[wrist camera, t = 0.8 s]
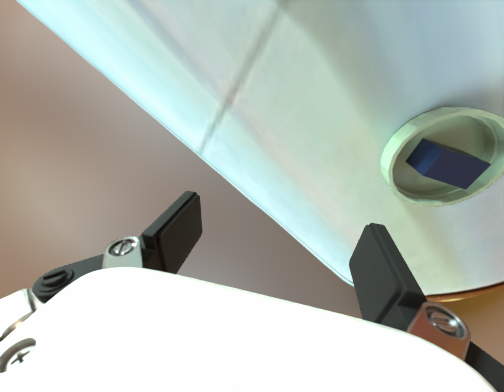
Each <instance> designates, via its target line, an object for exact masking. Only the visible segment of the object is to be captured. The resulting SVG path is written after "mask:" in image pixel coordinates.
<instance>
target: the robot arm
mask: <svg viewBox="0 0 504 392" xmlns="http://www.w3.org/2000/svg"><path fill="white" fill-rule="evenodd" d="M201 234H202V221H201V206H200V196H199V195H197V193H196V192H190V191H186V192H185V193H184V194H182V196H180V197H179V198H178V199H177V200H176V201H175V202H174V203H173V204H172V205H171V206H170V207H169V208H168V209H167V210H166V211H165V212H164V213H163V214H161V215H160V216H159V217H158V218H157V219H156V220H155V221H154V222H153V223H152V224H151V225H150V226H149V227H148V228H147V229H146V230H145V231H144V232H143V233H142V234H141V235H140V236H139V237H138V238H136V237H133V236H126V237H121V238H118V239H116V240H114V241H112V242H111V243H110V244H108V246H107V247H106V248H105V250H104V254H101V255H98V256H95V257H92V258H89V259H85V260H82V261H79V262H75V263H72V264H69V265H65V266H63V267H59V268H57V269H54V270H51V271H50V272H48V273H46V274H44V275H43V276H42V277H40V278H39V279H38V280H37V281H36V282H35V283H34V286H33V287H32V288H31V289H29V290H27V289H26V288H24V289H22V290H20V291H18V292H16V293H13V294H11V295H9V296H7V297H5V298H3V299H1V300H0V392H504V365H502V364H501V363H499V362H498V361H497V360H495V359H494V358H493V357H491V356H490V355H489V354H487V353H486V352H485V351H483V350H482V349H481V348H479V347H478V346H476V345H475V344H474V343H473V342H471V341H470V339H471V333H470V331H469V329H468V327H467V325H466V324H465V323H464V321H463V320H462V319H461V318H460V317H459V316H458V315H457V314H455V313H454V312H453V311H451V310H450V309H448V308H446V307H445V306H443V305H441V304H438V303H435V302H428V301H427V299H426V297H425V296H424V294H423V292H422V290H421V288H420V287H419V285H418V283H417V282H416V280H415V278H414V276H413V275H412V273H411V271H410V269H409V268H408V266H407V264H406V262H405V261H404V259H403V257H402V255H401V254H400V252H399V250H398V248H397V247H396V245H395V243H394V241H393V240H392V238H391V236H390V234H389V233H388V231H387V229H386V227H385V226H384V225H381V224H375V223H370V224H369V225H366V226H365V228H364V230H363V232H362V235H361V237H360V239H359V241H358V243H357V246H356V248H355V250H354V252H353V254H352V257H351V259H350V262H349V267H350V271H351V275H352V279H353V283H354V287H355V290H356V294H357V298H358V302H359V306H360V310H361V314H362V318H363V320H362V319H358V318H354V317H350V316H347V315H343V314H339V313H335V312H330V311H327V310H322V309H318V308H314V307H310V306H306V305H302V304H298V303H294V302H290V301H286V300H282V299H278V298H273V297H269V296H265V295H261V294H256V293H253V292H249V291H244V290H240V289H236V288H232V287H228V286H223V285H219V284H215V283H211V282H206V281H202V280H198V279H193V278H189V277H185V276H180V275H176V273H177V272H178V270H179V269H180V267H181V266H182V264H183V263H184V261H185V260H186V258H187V257H188V255H189V253H190V252H191V250H192V249H193V247H194V246H195V244H196V243H197V241H198V240H199V238H200V237H201Z"/></svg>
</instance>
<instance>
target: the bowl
mask: <svg viewBox="0 0 504 392" xmlns="http://www.w3.org/2000/svg"><path fill="white" fill-rule="evenodd" d="M422 138H424V139H427V140H430V141H434V142H437V143H440V144H443V145H446V146H449V147H453V148H456V149H459V150H462V151H464V152H466V153H469V154H471V155H473V156H475V157H477V158H479V159H482V160H484V161H486V162H488V163H490V164H491V165H490V166H489V167H488V168H487V169H486V170H485V171H484V172H483V173H482V174H481V175H480V176H479V177H478V178H477V179H476V180H475V181H474V182H473V183H472V184H471V185H470V186H469V187H468V188H467V189H466V190H465V189H461V188H458V187H455V186H452V185H449V184H446V183H443V182H440V181H437V180H434V179H431V178H428V177H425V176H422V175H421V174H420V173H419V172H417V171H416V170H415V169H414V168H413V167H411V166H410V165H409V164H408V163H406V162H405V161H406V160H407V158H408V157H409V156H410V154H411V153H412V152H413V150H414V149H415V148H416V146H417V145H418V144H419V142H420V141H421V140H422ZM380 165H381V174H382V176H383V178H384V180H385V181H386V183H387V185H388V186H389V187H390V188H391V190H392V191H393V192H394V193H395V194H396V195H397V196H398V197H400V198H401V199H402V200H404V201H405V202H408V203H411V204H414V205H417V206H426V207H439V206H445V205H452V204H455V203H458V202H461V201H464V200H467V199H469V198H471V197H474V196H475V195H477V194H479V193H480V192H482V191H484V190H485V189H487V188H489V187H490V186H491V185H492V184H493V183H494V182H495V181H496V180H497V179H498V178H499V177H501V176H502V175H503V174H504V119H503V118H502V117H501V116H500V115H496V114H493V113H490V112H486V111H483V110H479V109H473V108H467V107H442V108H439V109H435V110H432V111H429V112H425V113H423V114H421V115H419V116H417V117H416V118H414V119H412V120H410V121H409V122H407V123H406V124H405V125H403V126H402V127H401V128H400V129H399V130H398V131H397V132H396V133H395V134H394V135H393V136H392V137H391V139H390V140H389V142H388V143H387V145H386V147H385V148H384V150H383V154H382V158H381V161H380Z"/></svg>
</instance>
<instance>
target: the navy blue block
mask: <svg viewBox="0 0 504 392" xmlns="http://www.w3.org/2000/svg"><path fill="white" fill-rule="evenodd" d="M405 162H406V163H408V164H409V165H410V166H411V167H413V168H414V169H415V170H416V171H417V172H419V173H420V174H421V175H422V176H425V177H428V178H431V179H434V180H437V181H440V182H443V183H446V184H449V185H452V186H455V187H458V188H461V189H465V190H466V189H467V188H468V187H469V186H470V185H471V184H472V183H473V182H474V181H475V180H476V179H477V178H478V177H479V176H480V175H481V174H482V173H483V172H484V171H485V170H486V169H487V168H488V167H489V166H490V165H491V164H490V163H488V162H486V161H484V160H482V159H479V158H477V157H475V156H473V155H471V154H469V153H466V152H464V151H462V150H459V149H456V148H453V147H449V146H446V145H443V144H440V143H437V142H434V141H430V140H427V139H424V138H422V140H421V141H420V142H419V144H418V145H417V146H416V148H415V149H414V150H413V152H412V153H411V154H410V156H409V157H408V158H407V160H406V161H405Z"/></svg>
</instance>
